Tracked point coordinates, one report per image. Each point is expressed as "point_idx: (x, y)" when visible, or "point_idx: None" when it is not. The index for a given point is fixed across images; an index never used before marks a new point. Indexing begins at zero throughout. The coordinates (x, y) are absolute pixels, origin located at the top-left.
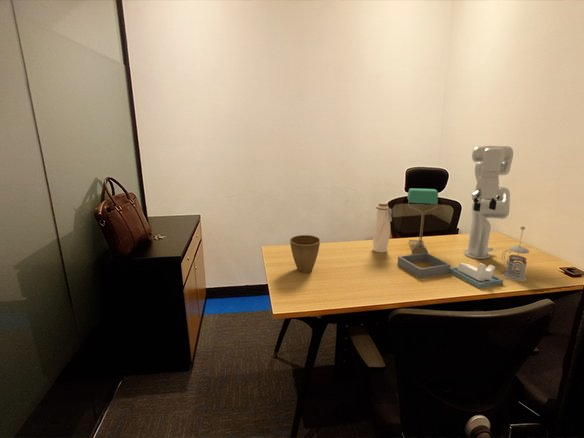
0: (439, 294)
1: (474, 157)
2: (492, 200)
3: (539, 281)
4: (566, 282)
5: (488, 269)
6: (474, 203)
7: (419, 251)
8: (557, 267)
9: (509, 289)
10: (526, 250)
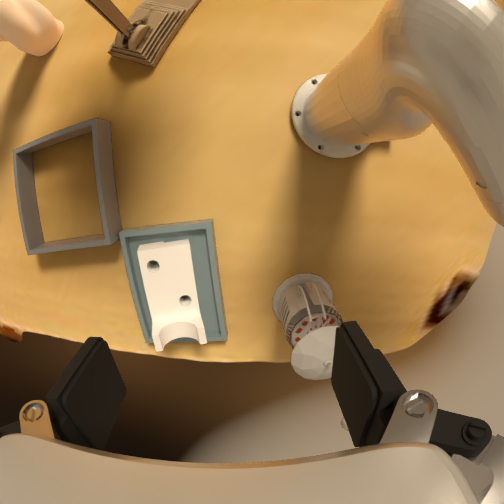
0: (58, 327)
1: None
2: (377, 432)
3: None
4: (387, 347)
5: (190, 330)
6: (54, 386)
7: (127, 57)
8: (454, 272)
9: (221, 356)
10: (329, 376)
